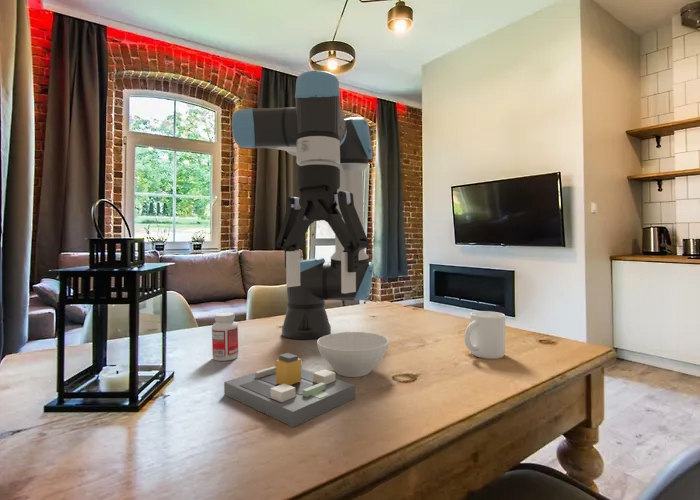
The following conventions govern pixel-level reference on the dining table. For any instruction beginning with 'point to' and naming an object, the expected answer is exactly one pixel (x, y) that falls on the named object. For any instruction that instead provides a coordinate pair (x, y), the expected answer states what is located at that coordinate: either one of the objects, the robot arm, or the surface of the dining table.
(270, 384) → the panel
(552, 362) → the dining table surface
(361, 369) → the bowl
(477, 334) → the mug
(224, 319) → the pill bottle
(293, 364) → the breaker handle
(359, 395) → the dining table surface
